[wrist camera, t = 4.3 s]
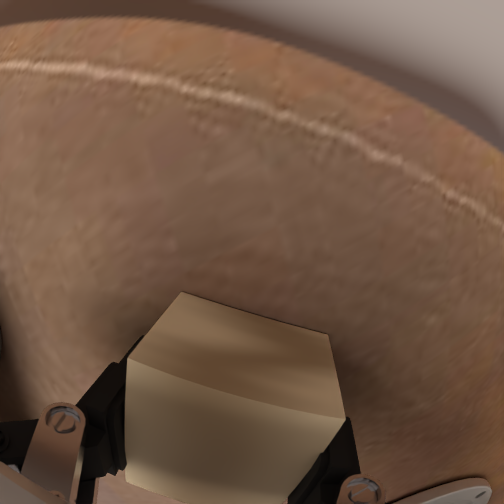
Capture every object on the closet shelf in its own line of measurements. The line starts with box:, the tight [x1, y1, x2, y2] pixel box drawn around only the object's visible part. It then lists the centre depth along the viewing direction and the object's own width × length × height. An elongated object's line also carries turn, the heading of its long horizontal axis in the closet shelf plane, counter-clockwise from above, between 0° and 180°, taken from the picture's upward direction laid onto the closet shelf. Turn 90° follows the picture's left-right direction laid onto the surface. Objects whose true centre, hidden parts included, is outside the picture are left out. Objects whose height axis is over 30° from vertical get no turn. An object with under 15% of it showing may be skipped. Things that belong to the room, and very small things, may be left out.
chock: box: [125, 292, 346, 504], centre depth 9 cm, size 5×6×4 cm
